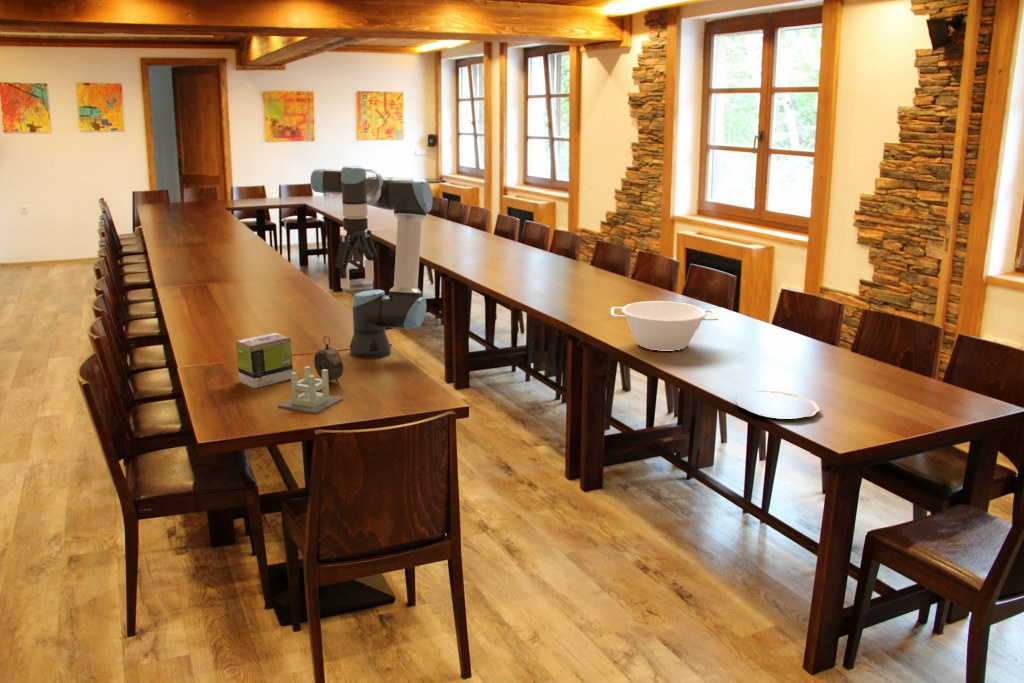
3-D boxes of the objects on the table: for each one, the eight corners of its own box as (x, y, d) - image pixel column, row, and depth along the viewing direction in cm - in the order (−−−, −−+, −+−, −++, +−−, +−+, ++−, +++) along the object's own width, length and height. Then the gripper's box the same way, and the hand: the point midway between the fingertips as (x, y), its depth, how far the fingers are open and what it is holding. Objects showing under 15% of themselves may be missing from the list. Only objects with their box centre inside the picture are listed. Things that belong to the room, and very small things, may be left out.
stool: (308, 395, 281) (306, 366, 279) (329, 399, 278) (327, 369, 275) (292, 403, 274) (290, 373, 272) (313, 407, 271) (312, 376, 268)
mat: (306, 393, 285) (306, 391, 285) (342, 399, 280) (342, 398, 280) (278, 407, 273) (278, 405, 273) (315, 413, 267) (315, 412, 267)
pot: (609, 355, 330) (611, 318, 326) (609, 333, 361) (610, 299, 357) (719, 359, 327) (722, 322, 323) (709, 336, 357) (712, 302, 353)
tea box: (278, 372, 306) (276, 331, 302) (294, 379, 299) (291, 337, 295) (238, 382, 296) (235, 339, 292) (253, 389, 289) (250, 345, 285)
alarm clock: (345, 385, 294) (343, 337, 290) (331, 388, 290) (329, 340, 286) (325, 377, 301) (323, 331, 297) (312, 381, 298) (309, 334, 293)
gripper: (367, 211, 288) (369, 276, 294) (320, 221, 266) (324, 290, 272) (387, 213, 285) (388, 278, 291) (341, 222, 263) (344, 293, 269)
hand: (357, 284), depth 281 cm, fingers open, 13 cm apart
